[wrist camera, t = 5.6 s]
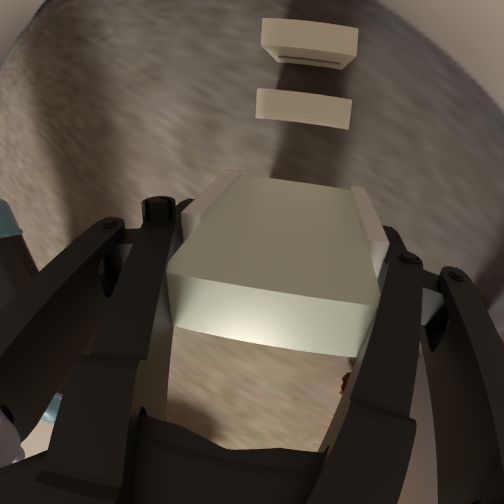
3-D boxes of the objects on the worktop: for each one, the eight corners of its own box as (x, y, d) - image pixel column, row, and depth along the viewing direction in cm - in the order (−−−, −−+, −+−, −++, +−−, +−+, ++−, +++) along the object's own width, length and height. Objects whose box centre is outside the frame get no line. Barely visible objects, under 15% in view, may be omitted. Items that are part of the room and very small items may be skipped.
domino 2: (273, 112, 27) (255, 120, 18) (275, 91, 26) (257, 88, 17) (336, 120, 26) (348, 132, 18) (339, 99, 25) (352, 99, 17)
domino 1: (277, 63, 25) (260, 47, 16) (279, 43, 23) (262, 18, 15) (341, 71, 24) (356, 58, 15) (343, 50, 23) (358, 28, 14)
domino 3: (239, 210, 18) (168, 327, 9) (241, 175, 17) (160, 271, 8) (342, 225, 17) (360, 361, 8) (349, 189, 16) (383, 307, 7)
